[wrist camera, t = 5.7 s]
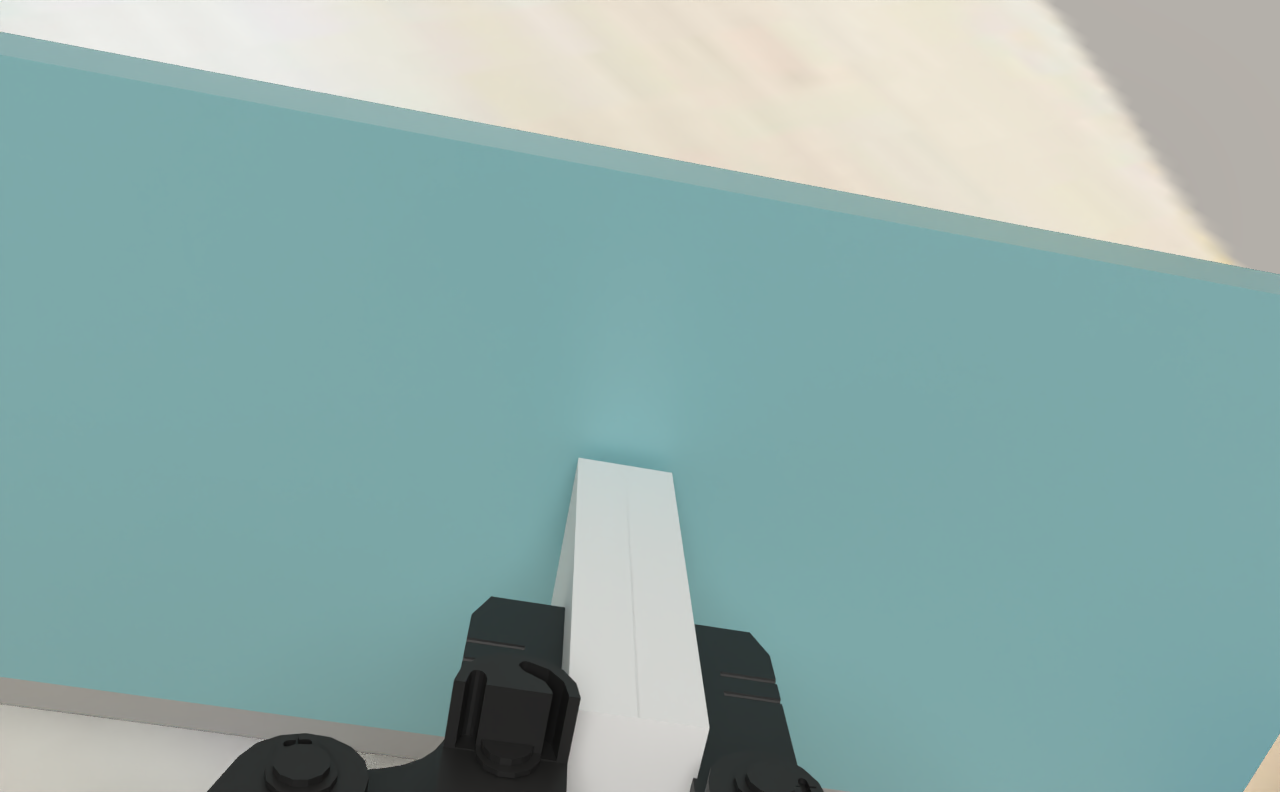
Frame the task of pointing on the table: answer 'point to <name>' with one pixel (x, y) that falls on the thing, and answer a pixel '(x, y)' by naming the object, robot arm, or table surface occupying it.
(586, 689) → the robot arm
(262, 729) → the cable duct
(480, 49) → the table surface
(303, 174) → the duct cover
